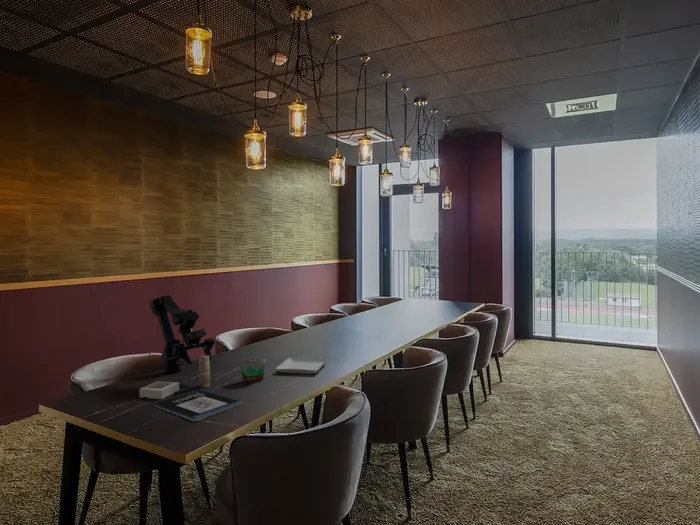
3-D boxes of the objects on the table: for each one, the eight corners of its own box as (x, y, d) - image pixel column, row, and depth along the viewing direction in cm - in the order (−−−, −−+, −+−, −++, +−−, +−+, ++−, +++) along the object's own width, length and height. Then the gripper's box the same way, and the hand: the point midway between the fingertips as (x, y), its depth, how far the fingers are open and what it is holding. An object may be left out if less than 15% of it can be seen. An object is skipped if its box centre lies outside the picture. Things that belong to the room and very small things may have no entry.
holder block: (139, 397, 191) (139, 388, 191) (157, 388, 201) (157, 380, 201) (162, 399, 188) (161, 390, 187) (179, 390, 198) (179, 382, 198)
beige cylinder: (197, 386, 203) (196, 357, 202) (203, 383, 207) (202, 355, 206) (206, 387, 201) (205, 358, 201) (212, 384, 206) (211, 355, 205)
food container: (239, 385, 204) (239, 362, 203) (239, 381, 210) (238, 359, 209) (268, 382, 207) (267, 360, 207) (266, 378, 213) (266, 357, 213)
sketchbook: (199, 392, 198) (199, 387, 198) (244, 406, 179) (244, 400, 179) (151, 406, 181) (151, 401, 181) (195, 423, 162) (195, 417, 162)
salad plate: (317, 376, 215) (317, 369, 215) (274, 375, 219) (274, 368, 219) (328, 364, 236) (328, 358, 236) (289, 363, 240) (289, 357, 240)
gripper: (173, 326, 203) (185, 355, 195) (212, 320, 216) (225, 347, 208) (166, 342, 209) (178, 370, 201) (205, 335, 222) (217, 361, 214)
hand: (200, 361), depth 206 cm, fingers open, 9 cm apart
